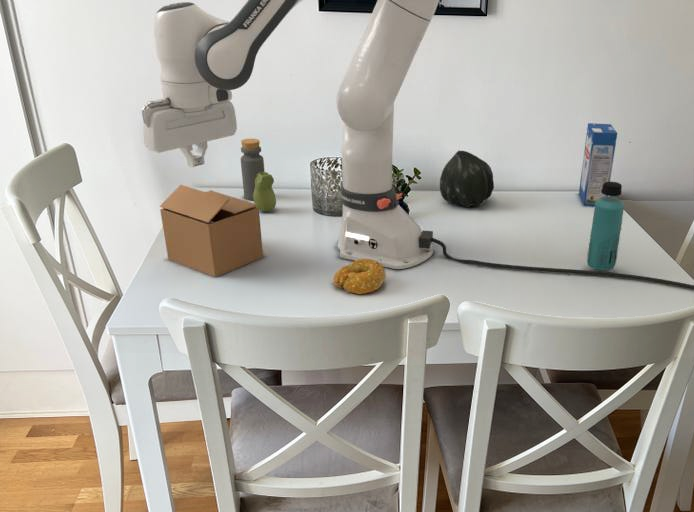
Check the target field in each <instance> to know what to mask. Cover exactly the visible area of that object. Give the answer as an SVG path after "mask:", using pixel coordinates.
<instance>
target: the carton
mask: <svg viewBox="0 0 694 512" xmlns="http://www.w3.org/2000/svg"><path fill="white" fill-rule="evenodd" d="M206 192H207V193H210V194H213V195H217V196H220V197H223V198H226V199H229V201H228V202H227V203H226V204H225V205H224V206H223V208H222V209H221V210H220V211H219V212H218V213H217V214H216V215H215V216H214V217H213V218H212V220H211V222H214V223H211V224H206V223H203V222H200V221H197V220H194V219H191V218H189V216H186V215H183V214H180V213H177V212H174V211H171V210H168V209H165V208H161V209H159V211H160V217H161V223H162V229H163V236H164V241H165V248H166V254H167V259H168V261H171V262H174V263H175V264H176V263H177V264H179V265H182V266H184V267H187V268H190V269H193V270H194V271H199V272H200V273H203V274H205V275H208V276H211V277H213V278H217V277H219V276H221V275H224V274H226V273H228V272H231V271H233V270H235V269H238V268H240V267H243V266H245V265H248V264H250V263H252V262H254V261H257V260H260V259H261V258H264V250H263V238H262V228H261V218H260V210H259V208H258V207H256V206H258V204H255V203H254V202H250V201H249V200H244V199H241V198H237V197H234V196H231V195H228V194H224V193H221V192H219V191H218V192H217V191H214V190H208V191H206Z"/></svg>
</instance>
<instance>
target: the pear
mask: <svg viewBox="0 0 694 512" xmlns="http://www.w3.org/2000/svg"><path fill="white" fill-rule="evenodd" d="M274 182H275V180H274V177H273V175H272V174H269V173H268V172H267V171H265V172H259V174H257V177H256V178H255V189H254V193H253V198H254V200H253V203H254V204H258V206H256V207H258V208H259V212H260V211H261V212H264V213H267V212H271V211H272V210H274V209H275V208H276V206H277V197H276V193H275V191H274V189H273V185H274Z"/></svg>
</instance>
